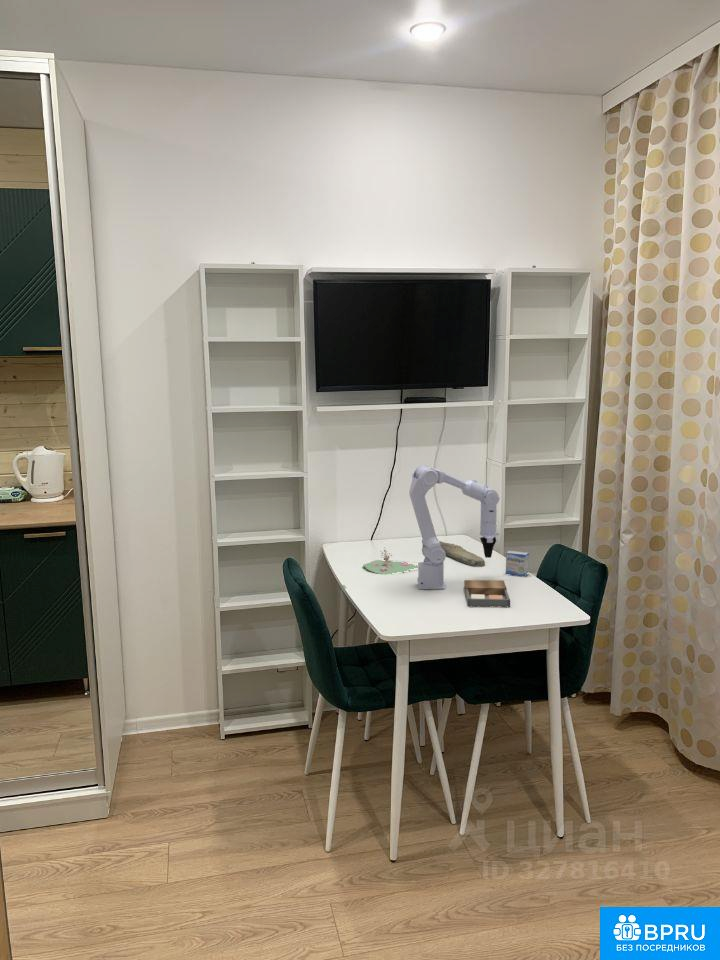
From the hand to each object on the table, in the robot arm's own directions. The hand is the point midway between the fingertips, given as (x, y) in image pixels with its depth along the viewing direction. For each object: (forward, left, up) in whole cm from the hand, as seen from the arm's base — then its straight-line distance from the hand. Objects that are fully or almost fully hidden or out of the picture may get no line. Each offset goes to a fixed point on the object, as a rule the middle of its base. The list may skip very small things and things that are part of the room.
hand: (487, 557), depth 275 cm
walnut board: (-2, -12, -9) cm, 16 cm away
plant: (-35, +19, -10) cm, 41 cm away
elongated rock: (-10, +35, -10) cm, 38 cm away
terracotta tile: (+1, -25, -7) cm, 26 cm away
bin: (-2, -22, -9) cm, 24 cm away
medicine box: (+12, +10, -10) cm, 18 cm away
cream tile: (-5, -24, -7) cm, 26 cm away
